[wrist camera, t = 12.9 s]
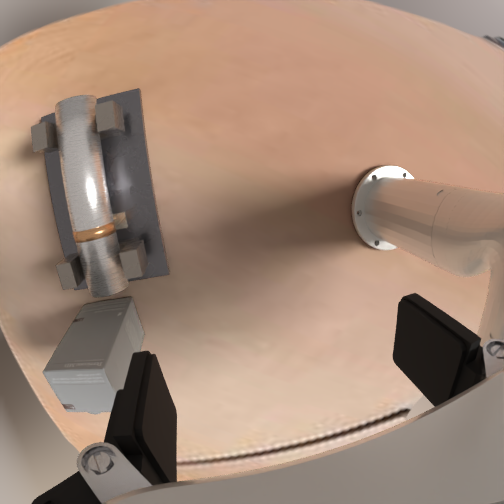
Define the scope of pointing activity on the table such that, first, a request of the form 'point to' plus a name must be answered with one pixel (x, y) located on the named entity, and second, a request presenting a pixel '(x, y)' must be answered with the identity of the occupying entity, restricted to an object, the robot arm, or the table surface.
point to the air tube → (88, 195)
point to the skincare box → (95, 356)
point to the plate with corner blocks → (111, 190)
